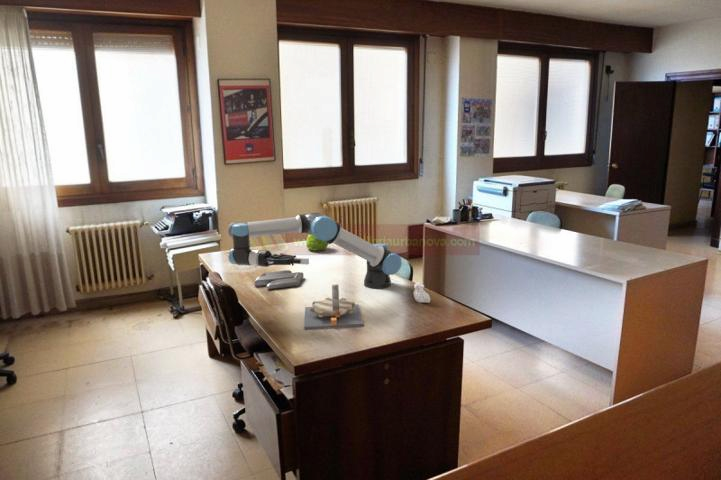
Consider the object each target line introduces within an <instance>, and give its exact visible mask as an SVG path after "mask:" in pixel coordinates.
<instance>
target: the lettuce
mask: <svg viewBox="0 0 721 480" xmlns="http://www.w3.org/2000/svg"><path fill="white" fill-rule="evenodd" d="M305 241H306V242H305V245H306V248H307V249H308V250H309V249H310V251H311V250H313V251H312V252H315V251H323V250H325V249H327V247H328V246H329V244H328V243H326V242H324V241H322V240H319V239H317V238H316V237H314V236H313V235H311V234H309V233H308V235H307V237H306V240H305Z"/></svg>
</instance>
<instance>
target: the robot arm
mask: <svg viewBox="0 0 721 480" xmlns="http://www.w3.org/2000/svg"><path fill="white" fill-rule="evenodd" d="M227 233H228V236H230V237H231V239H232V244H233V248H231V249H230V250H229V252H228V261H229V263H230V264H232V265H237V266H252V267H255V268H257V267H264V268H267V267H270V266H292V267H293V266H294V265H304V266H305V265H309V264H310V263H309V261H310V260H309V257H301V256H300V257H299V256H298V257H297V255H296V254H293V255H292V254H286V253H282V252H281V253H279V254H278V253H273V254H272V252H271V251H270V250H263V249H262V250H261V249H251V245H250V238H256V237H266V236H273V235H282V234H289V233H291V234H292V233H298V234H308V235H309V234H311V235H313V236H314V237H316V238H317V239H319V240H322V241H324V242H326V243H328V245H332V244H335V245H336V246H339V247H341V248H343V249H344V250H346V251H348V252H350V253H352V254H354V255H356V256H358V257H360V258H362V259H364V260H366V273H365V276H364V279H363V285H364V286H365V287H366V288H370V289H385V288H389V287H390V286H391V285H392V279H391V277H390V275H395V274H397V273H399V271H400V270H401V267H402V264H403V263H402V258H401V256H400V255H399V254H397V253H396V252H393V251H391V250H390V249H389V246H388V244H386V243H374V244H372V243H371V242H368V241H367V240H365V239H363V238H361V237H359V236H357V235H356V234H353V233H351V232H349V231H348V230H346V229H345V228H342V224H341V223H340V222H338V221H336V220H334V219H333V218H332V217H329V216H327V215H325V214H322V213H320V212H310V213H303V214H296V216H295V217H285V218H279V219H278V218H277V219H275V218H274V219H267V220H258V221H256V220H255V221H248V222H247V221H246V222H238V221H237V222H231V223H230V224H229V225H228V228H227Z"/></svg>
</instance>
